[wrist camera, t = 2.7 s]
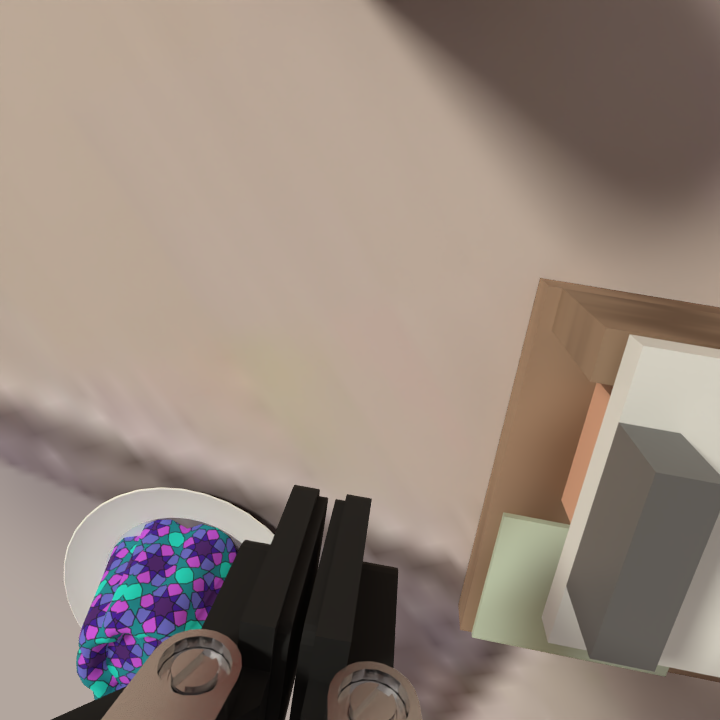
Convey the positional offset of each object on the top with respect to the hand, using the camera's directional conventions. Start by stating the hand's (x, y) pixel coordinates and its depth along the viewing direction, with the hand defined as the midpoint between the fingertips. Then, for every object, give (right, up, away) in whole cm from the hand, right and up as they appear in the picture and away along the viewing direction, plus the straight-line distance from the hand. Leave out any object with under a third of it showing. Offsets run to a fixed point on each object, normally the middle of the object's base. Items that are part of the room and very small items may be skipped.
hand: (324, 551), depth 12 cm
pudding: (-7, -7, +16) cm, 19 cm away
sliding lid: (+11, 0, +4) cm, 11 cm away
